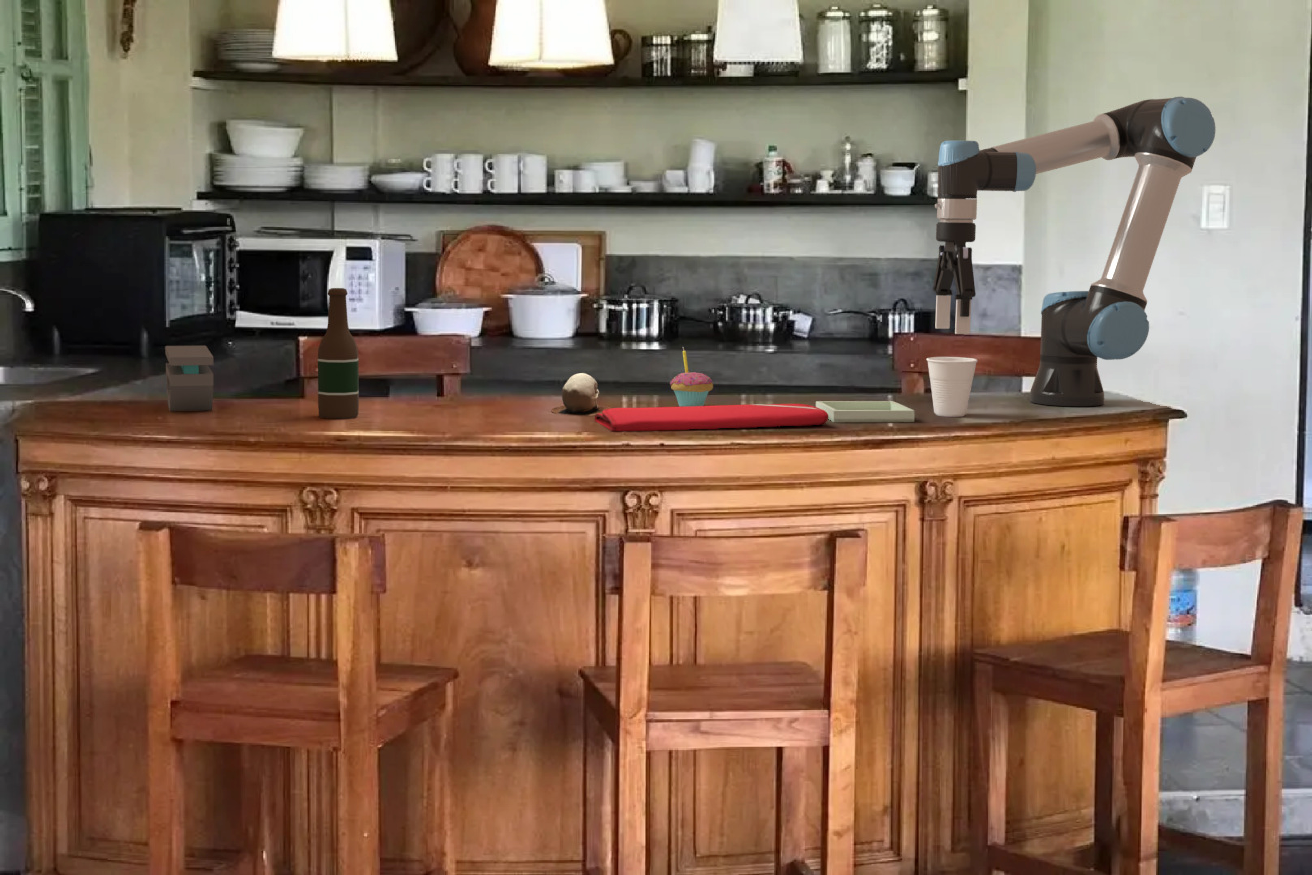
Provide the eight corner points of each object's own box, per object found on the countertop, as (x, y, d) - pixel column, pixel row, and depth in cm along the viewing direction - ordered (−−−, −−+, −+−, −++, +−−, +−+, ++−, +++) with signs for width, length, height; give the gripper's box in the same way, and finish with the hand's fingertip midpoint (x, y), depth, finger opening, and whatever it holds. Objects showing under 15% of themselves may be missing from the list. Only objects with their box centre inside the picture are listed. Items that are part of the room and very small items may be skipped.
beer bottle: (367, 415, 351) (366, 288, 348) (347, 420, 344) (346, 290, 341) (330, 413, 354) (329, 286, 350) (309, 418, 346) (308, 288, 343)
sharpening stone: (214, 414, 350) (213, 356, 348) (171, 415, 348) (170, 357, 346) (206, 399, 374) (205, 345, 372) (166, 400, 371) (165, 346, 370)
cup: (974, 419, 359) (976, 362, 357) (922, 417, 361) (924, 360, 359) (976, 413, 368) (978, 357, 367) (926, 411, 370) (927, 356, 369)
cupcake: (663, 408, 369) (664, 347, 368) (679, 403, 377) (680, 344, 376) (704, 410, 366) (705, 349, 365) (719, 406, 374) (720, 346, 372)
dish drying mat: (593, 423, 348) (593, 403, 348) (802, 420, 358) (802, 400, 357) (612, 434, 333) (612, 414, 332) (829, 430, 343) (829, 410, 342)
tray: (892, 412, 368) (893, 401, 367) (914, 422, 352) (914, 410, 352) (815, 412, 366) (815, 401, 365) (833, 422, 350) (833, 410, 350)
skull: (559, 401, 370) (593, 365, 367) (595, 438, 368) (629, 402, 365) (536, 406, 358) (571, 368, 355) (573, 444, 356) (607, 406, 354)
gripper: (919, 219, 371) (916, 326, 374) (956, 222, 347) (951, 336, 350) (956, 220, 372) (952, 326, 375) (995, 222, 348) (990, 336, 350)
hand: (952, 331), depth 362 cm, fingers open, 13 cm apart
